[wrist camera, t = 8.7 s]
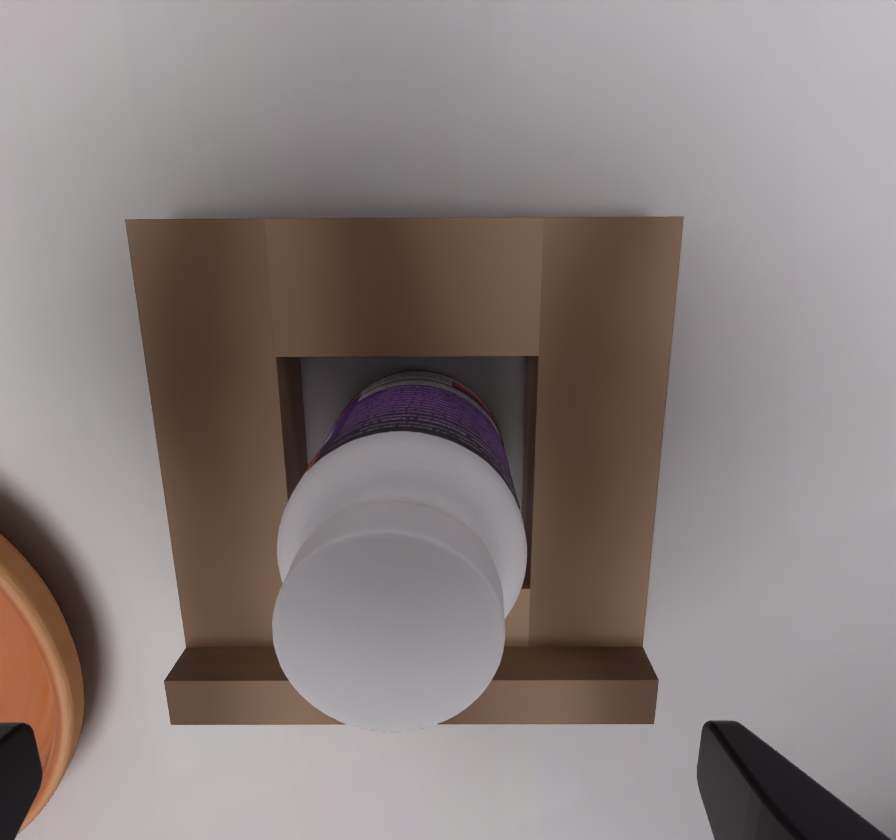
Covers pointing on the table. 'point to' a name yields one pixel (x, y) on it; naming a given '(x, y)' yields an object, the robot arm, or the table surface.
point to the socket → (413, 334)
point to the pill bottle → (400, 558)
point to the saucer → (38, 670)
